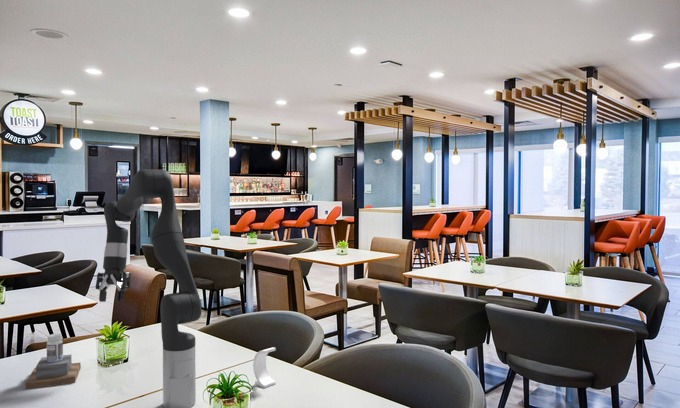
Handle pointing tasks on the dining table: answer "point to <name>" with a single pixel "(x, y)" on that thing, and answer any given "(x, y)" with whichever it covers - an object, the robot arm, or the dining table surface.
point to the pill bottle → (54, 348)
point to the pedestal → (53, 373)
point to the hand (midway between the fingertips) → (111, 301)
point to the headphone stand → (262, 369)
